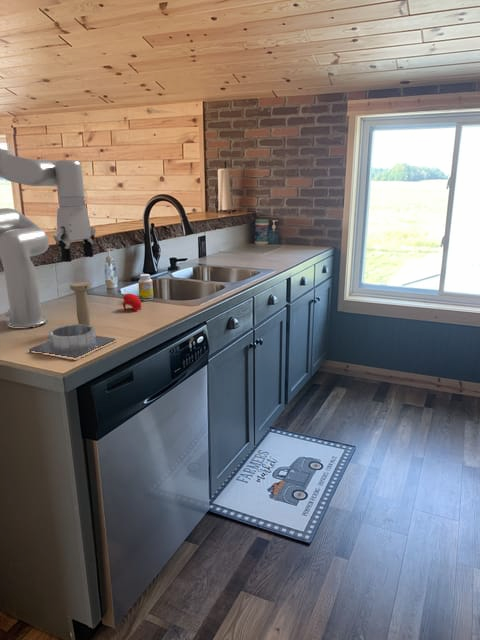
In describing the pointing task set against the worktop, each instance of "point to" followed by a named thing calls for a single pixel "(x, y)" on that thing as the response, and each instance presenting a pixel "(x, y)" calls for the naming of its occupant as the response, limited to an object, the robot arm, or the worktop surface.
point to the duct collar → (72, 341)
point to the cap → (132, 301)
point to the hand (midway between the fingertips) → (78, 259)
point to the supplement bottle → (145, 287)
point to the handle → (82, 302)
